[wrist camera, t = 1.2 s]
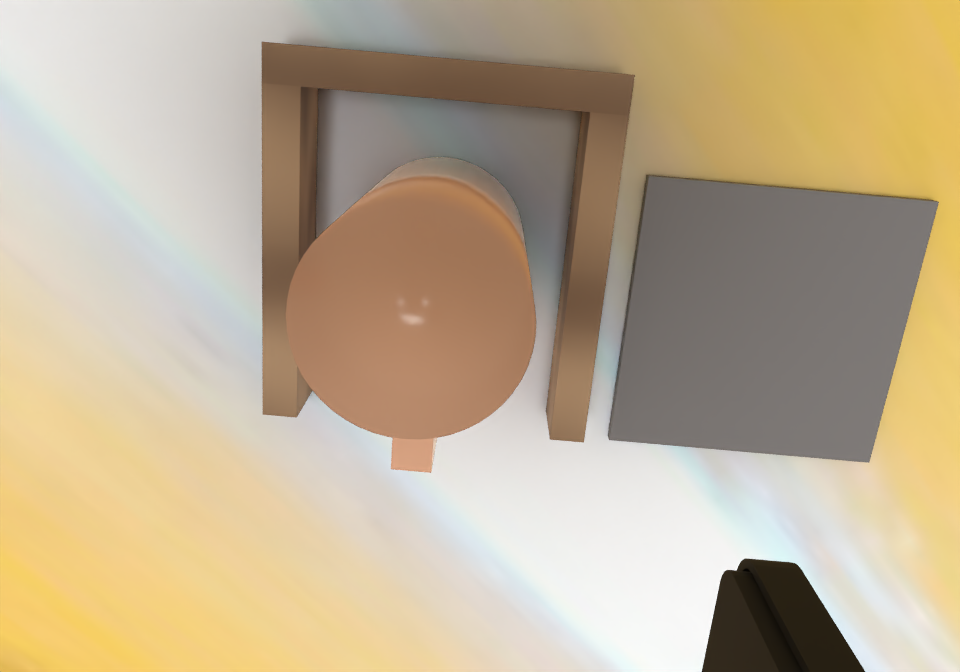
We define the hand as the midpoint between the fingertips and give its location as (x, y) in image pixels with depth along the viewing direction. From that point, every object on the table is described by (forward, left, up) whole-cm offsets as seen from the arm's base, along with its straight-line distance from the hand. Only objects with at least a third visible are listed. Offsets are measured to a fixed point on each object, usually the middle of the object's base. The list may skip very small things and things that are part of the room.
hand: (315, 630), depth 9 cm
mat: (+2, +12, -20) cm, 24 cm away
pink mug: (+1, 0, -21) cm, 21 cm away
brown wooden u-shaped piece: (0, 0, -20) cm, 20 cm away
